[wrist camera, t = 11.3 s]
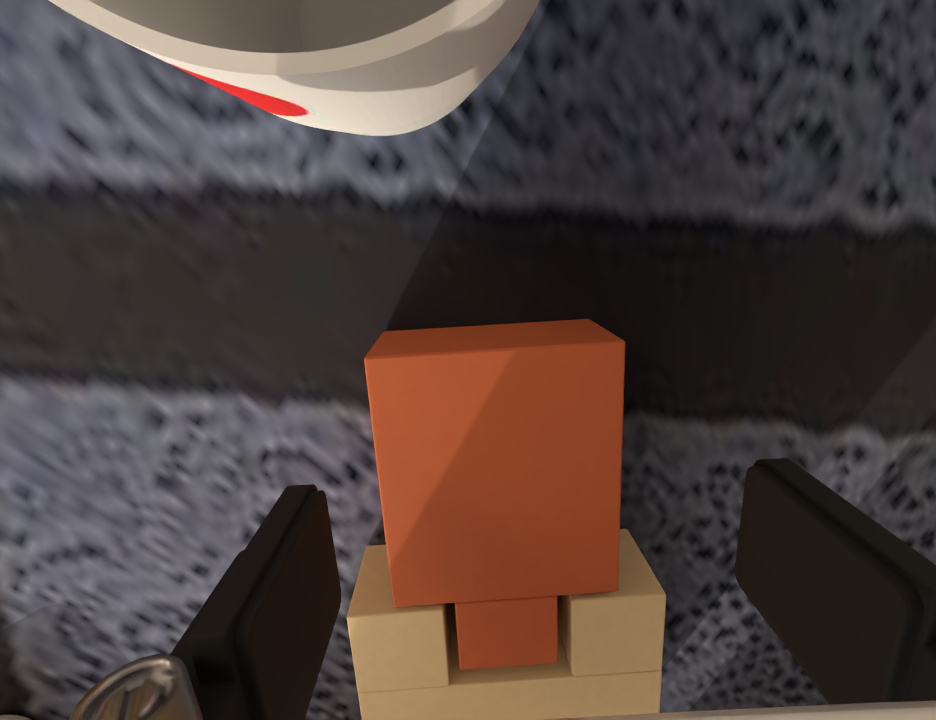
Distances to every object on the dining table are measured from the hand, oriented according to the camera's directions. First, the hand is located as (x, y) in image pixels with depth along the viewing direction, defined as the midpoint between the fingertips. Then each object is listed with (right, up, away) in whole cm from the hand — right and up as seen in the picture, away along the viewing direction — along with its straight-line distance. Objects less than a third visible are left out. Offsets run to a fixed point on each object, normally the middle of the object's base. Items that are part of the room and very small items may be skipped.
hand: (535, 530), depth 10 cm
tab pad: (-1, 0, +7) cm, 7 cm away
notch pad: (0, -8, +9) cm, 12 cm away
